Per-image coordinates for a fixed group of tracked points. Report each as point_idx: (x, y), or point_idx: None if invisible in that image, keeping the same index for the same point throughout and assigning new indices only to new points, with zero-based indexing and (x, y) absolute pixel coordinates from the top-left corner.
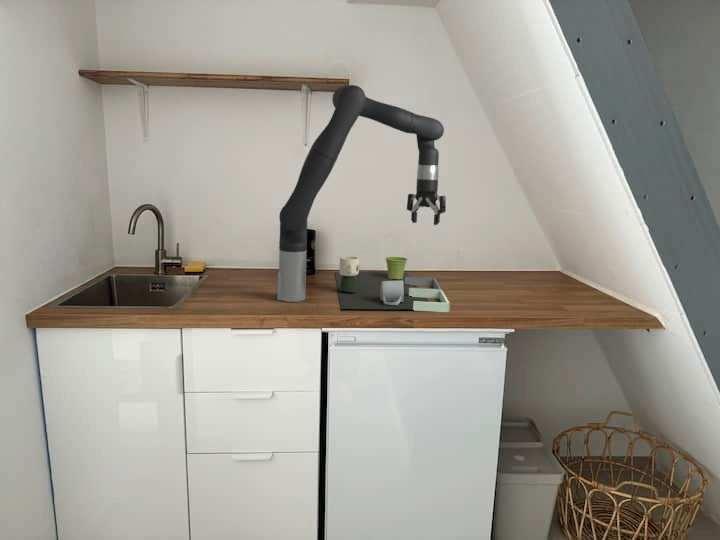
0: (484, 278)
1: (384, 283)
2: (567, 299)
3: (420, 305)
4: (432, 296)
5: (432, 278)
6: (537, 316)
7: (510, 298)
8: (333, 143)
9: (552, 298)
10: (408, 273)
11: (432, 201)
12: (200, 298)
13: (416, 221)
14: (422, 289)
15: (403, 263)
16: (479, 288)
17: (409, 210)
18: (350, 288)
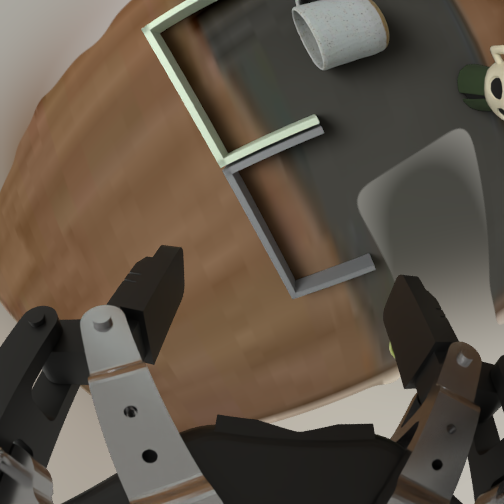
0: (218, 387)
1: (366, 4)
2: (49, 304)
3: None
4: (246, 144)
5: (298, 294)
6: (21, 152)
7: (100, 260)
8: None
9: (62, 299)
10: (380, 358)
11: (114, 491)
12: None
13: (385, 317)
14: (275, 134)
15: None
16: (187, 313)
17: (489, 364)
18: (470, 67)
